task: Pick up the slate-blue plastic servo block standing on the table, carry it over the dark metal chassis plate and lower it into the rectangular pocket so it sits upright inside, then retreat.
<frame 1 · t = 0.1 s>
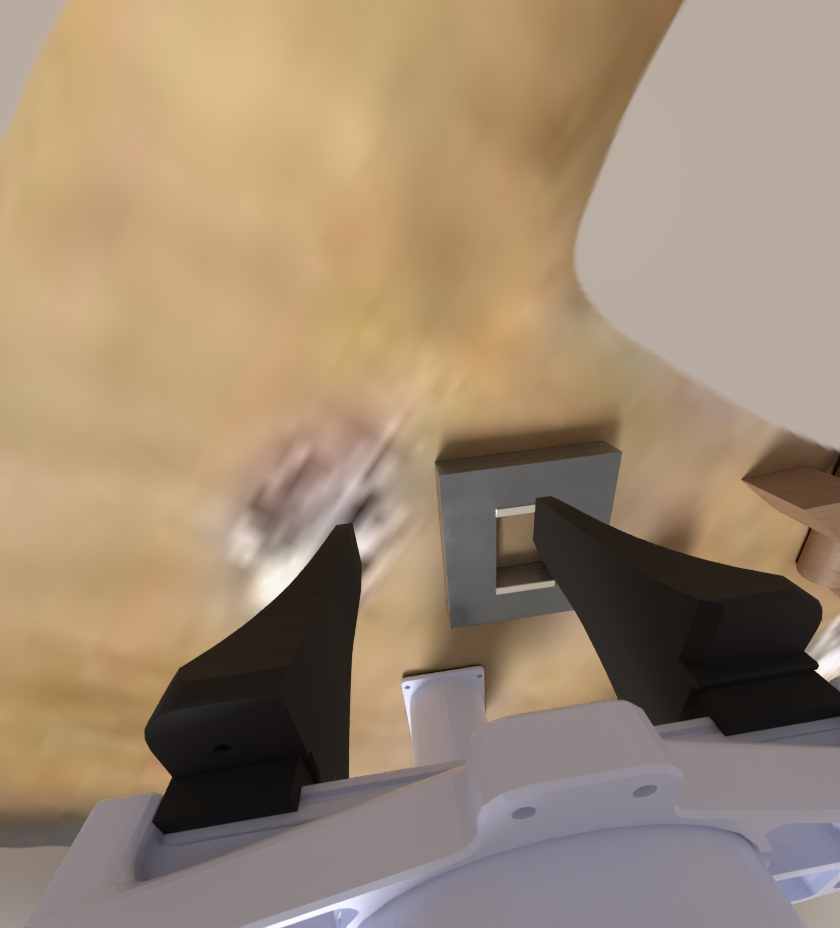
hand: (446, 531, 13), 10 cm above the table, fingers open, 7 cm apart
chassis: (517, 533, 26), on the table
wooden block set: (802, 534, 30), on the table
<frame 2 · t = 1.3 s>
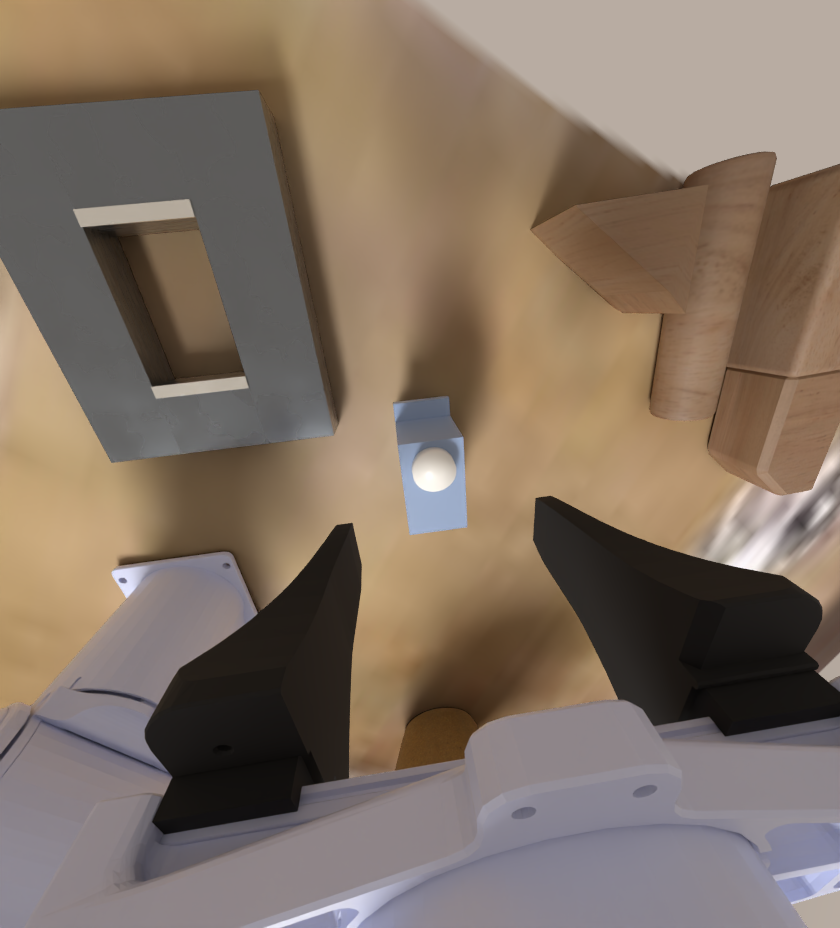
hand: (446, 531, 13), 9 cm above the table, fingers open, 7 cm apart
chassis: (194, 309, 17), on the table
servo: (422, 443, 22), on the table
plant pot: (440, 724, 35), on the table
wooden block set: (657, 358, 21), on the table
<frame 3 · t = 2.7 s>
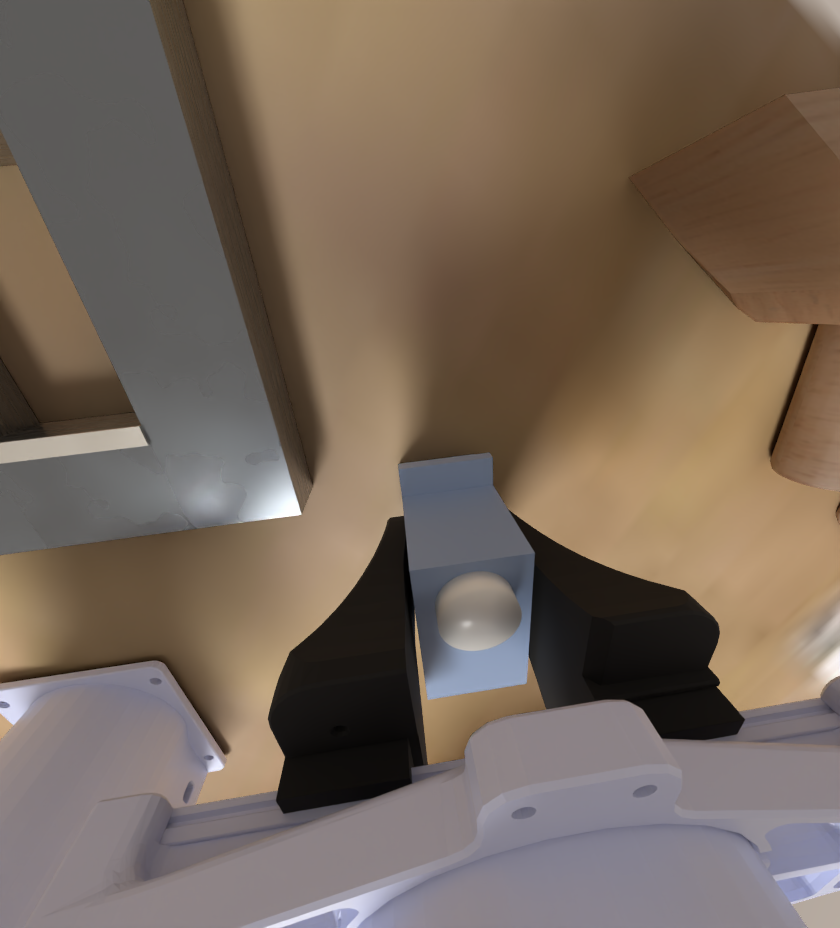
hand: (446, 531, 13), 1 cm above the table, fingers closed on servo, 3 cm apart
chassis: (55, 308, 10), on the table
servo: (441, 511, 14), on the table, touching gripper
wooden block set: (785, 389, 14), on the table
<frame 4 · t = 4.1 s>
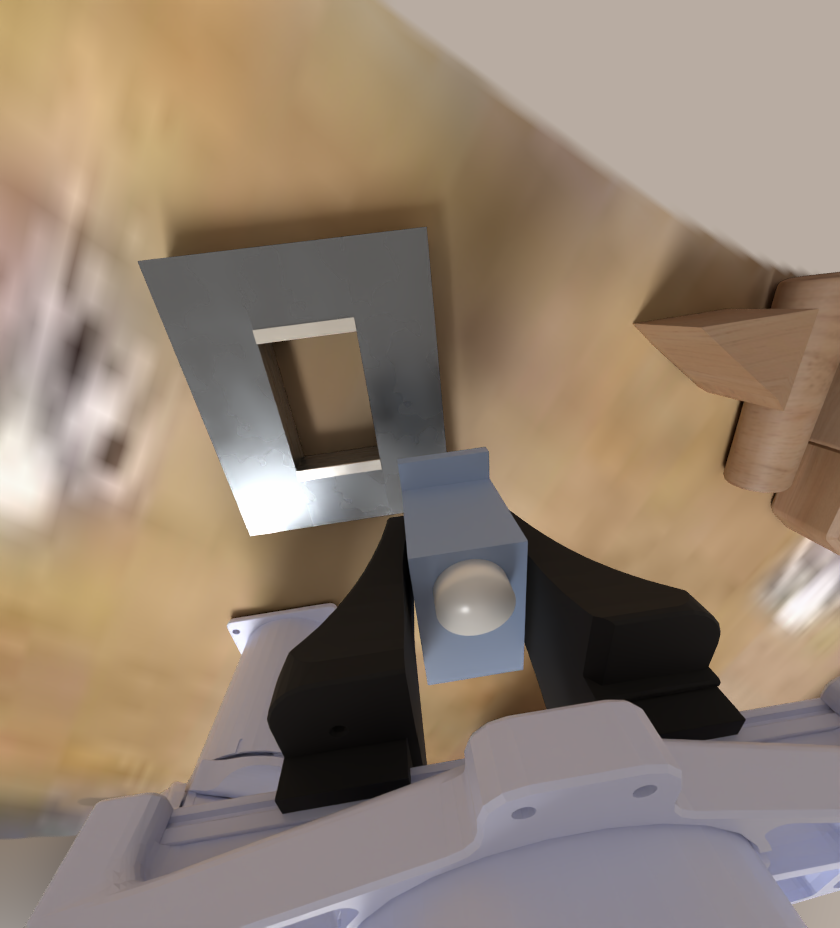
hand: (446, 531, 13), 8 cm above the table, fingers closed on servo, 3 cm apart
chassis: (330, 397, 19), on the table
servo: (440, 506, 15), point 7 cm above the table, touching gripper
wooden block set: (732, 428, 23), on the table
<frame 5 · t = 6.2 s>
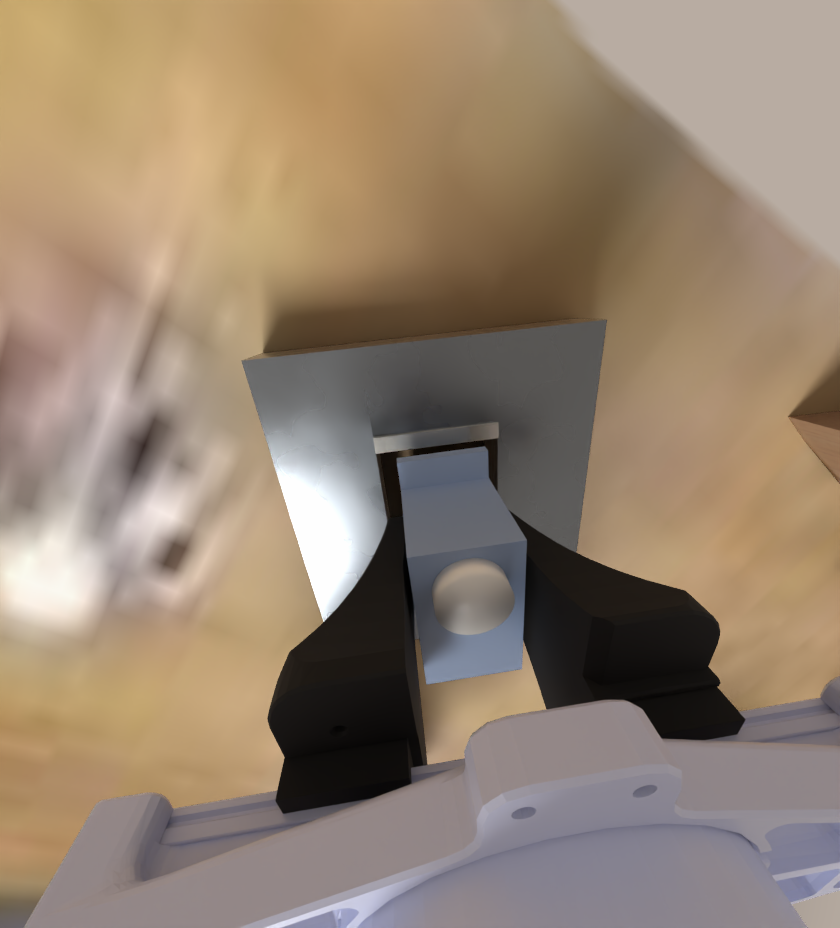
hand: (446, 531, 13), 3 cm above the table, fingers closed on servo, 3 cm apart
chassis: (436, 494, 16), on the table
servo: (439, 505, 15), point 1 cm above the table, touching gripper
when the fingers open (3 cm above the table, at t = 6.5 s): servo drops 1 cm, resting in chassis.
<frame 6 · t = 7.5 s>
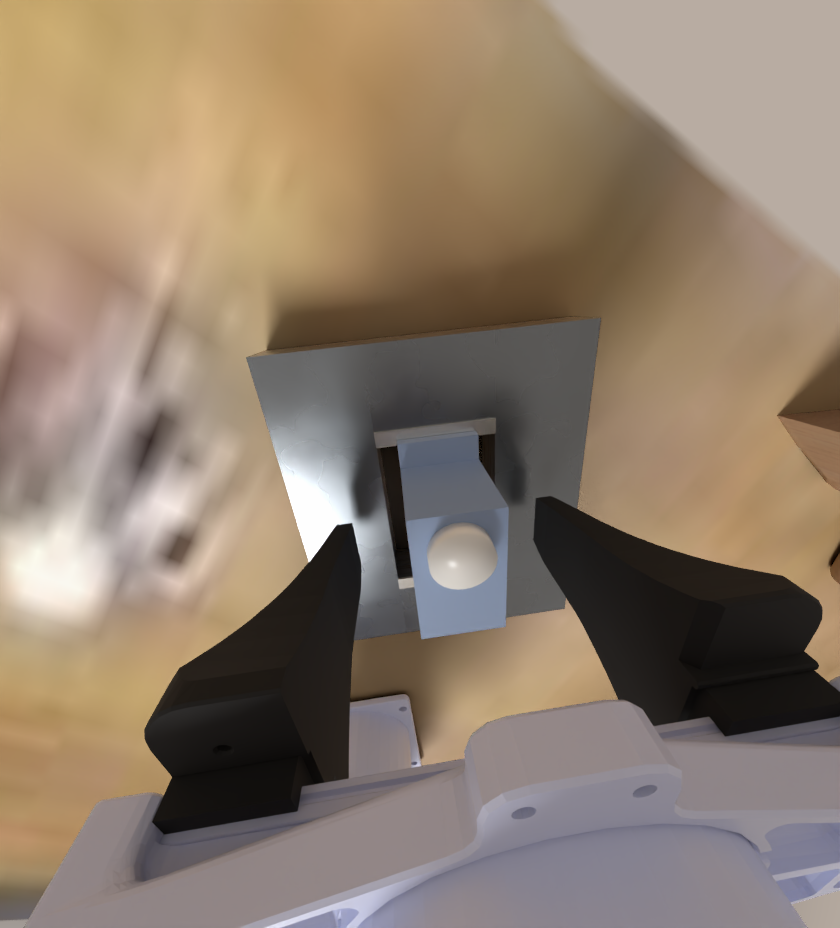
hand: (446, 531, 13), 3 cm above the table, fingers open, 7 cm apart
chassis: (435, 488, 16), on the table
servo: (435, 488, 16), resting in chassis
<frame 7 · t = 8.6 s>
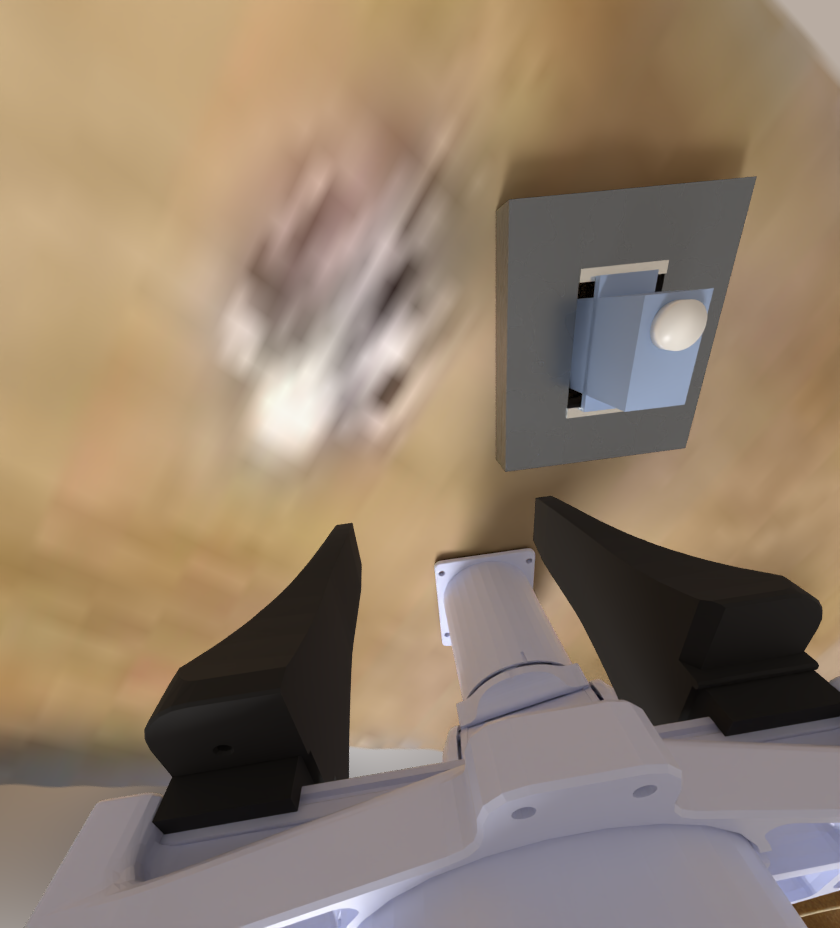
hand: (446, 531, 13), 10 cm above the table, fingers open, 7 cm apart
chassis: (592, 342, 20), on the table
servo: (591, 342, 20), resting in chassis
plant pot: (631, 707, 39), on the table
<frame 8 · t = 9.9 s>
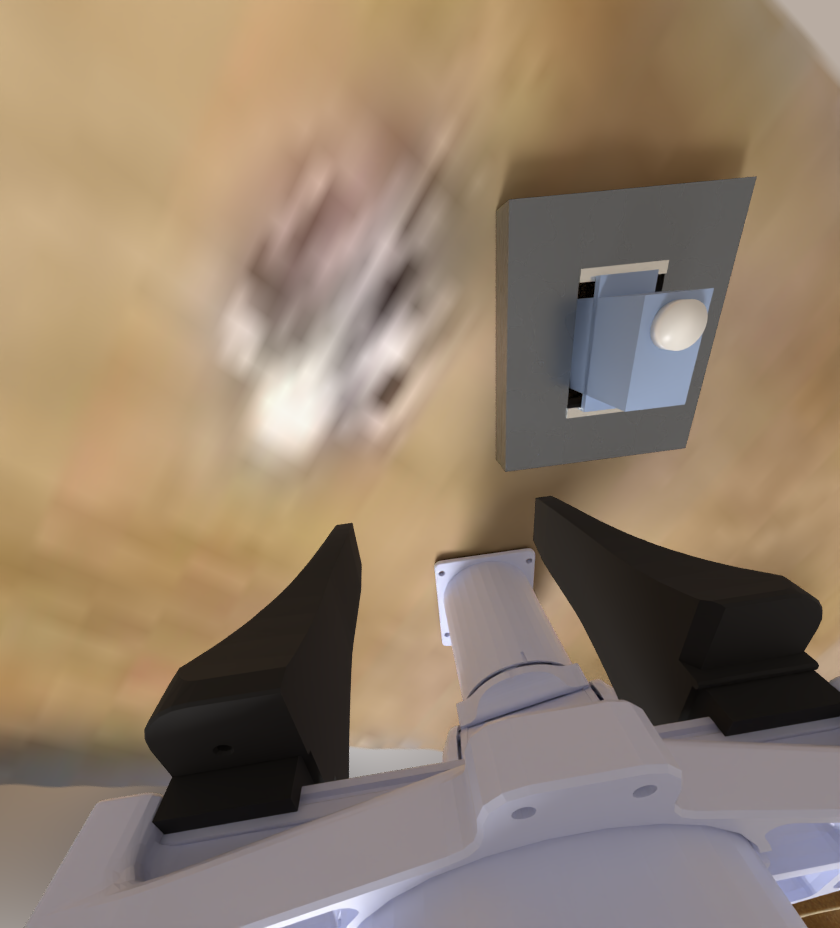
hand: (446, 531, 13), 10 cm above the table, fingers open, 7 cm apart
chassis: (592, 342, 20), on the table
servo: (591, 342, 20), resting in chassis
plant pot: (631, 707, 39), on the table
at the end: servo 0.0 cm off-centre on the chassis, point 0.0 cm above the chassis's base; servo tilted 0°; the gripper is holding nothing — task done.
